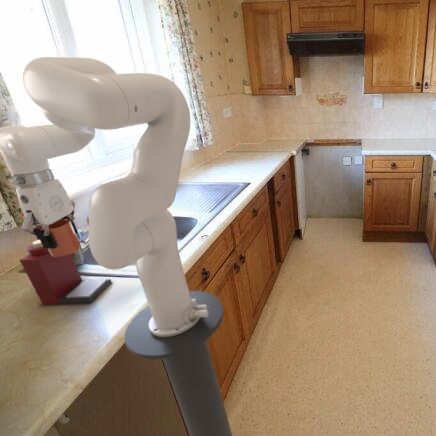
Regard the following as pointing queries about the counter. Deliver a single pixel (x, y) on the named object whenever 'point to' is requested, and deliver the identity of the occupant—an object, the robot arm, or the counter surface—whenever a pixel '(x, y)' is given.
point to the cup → (63, 238)
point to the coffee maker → (85, 291)
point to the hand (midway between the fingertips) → (61, 240)
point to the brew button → (37, 244)
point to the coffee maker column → (50, 274)
